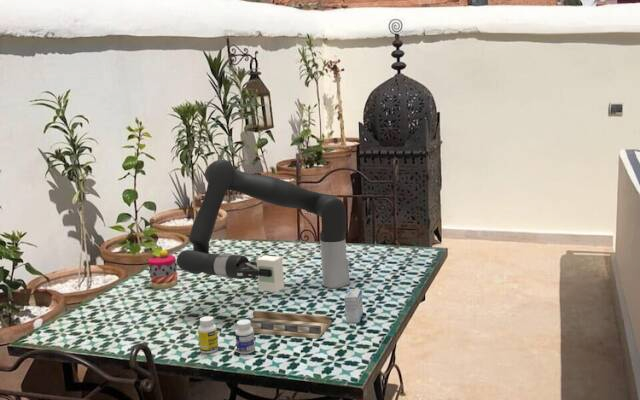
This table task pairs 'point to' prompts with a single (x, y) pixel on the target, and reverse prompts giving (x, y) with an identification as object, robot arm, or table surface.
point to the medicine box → (353, 306)
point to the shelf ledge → (289, 324)
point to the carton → (276, 267)
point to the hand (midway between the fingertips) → (275, 271)
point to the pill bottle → (244, 337)
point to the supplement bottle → (207, 335)
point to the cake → (162, 269)
